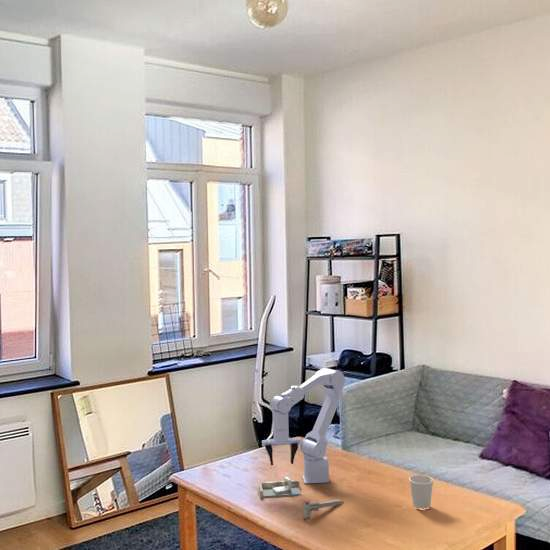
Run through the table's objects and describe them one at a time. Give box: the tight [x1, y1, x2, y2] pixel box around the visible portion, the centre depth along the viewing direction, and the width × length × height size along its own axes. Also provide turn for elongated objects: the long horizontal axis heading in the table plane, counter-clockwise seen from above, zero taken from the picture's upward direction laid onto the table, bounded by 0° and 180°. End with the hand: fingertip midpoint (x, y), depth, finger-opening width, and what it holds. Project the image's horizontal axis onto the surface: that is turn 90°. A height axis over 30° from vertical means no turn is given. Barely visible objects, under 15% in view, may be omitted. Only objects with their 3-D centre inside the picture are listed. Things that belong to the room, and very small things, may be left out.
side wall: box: [258, 482, 263, 499], centre depth 246 cm, size 1×8×2 cm, turn 6°
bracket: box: [272, 476, 292, 494], centre depth 246 cm, size 6×4×4 cm, turn 109°
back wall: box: [259, 479, 301, 488], centre depth 251 cm, size 15×1×2 cm, turn 95°
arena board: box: [262, 486, 302, 498], centre depth 247 cm, size 14×8×1 cm, turn 95°
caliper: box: [302, 499, 344, 520], centre depth 229 cm, size 20×1×6 cm, turn 135°
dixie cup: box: [408, 474, 435, 509], centre depth 230 cm, size 8×8×10 cm
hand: (281, 463), depth 251 cm, fingers open, 7 cm apart
